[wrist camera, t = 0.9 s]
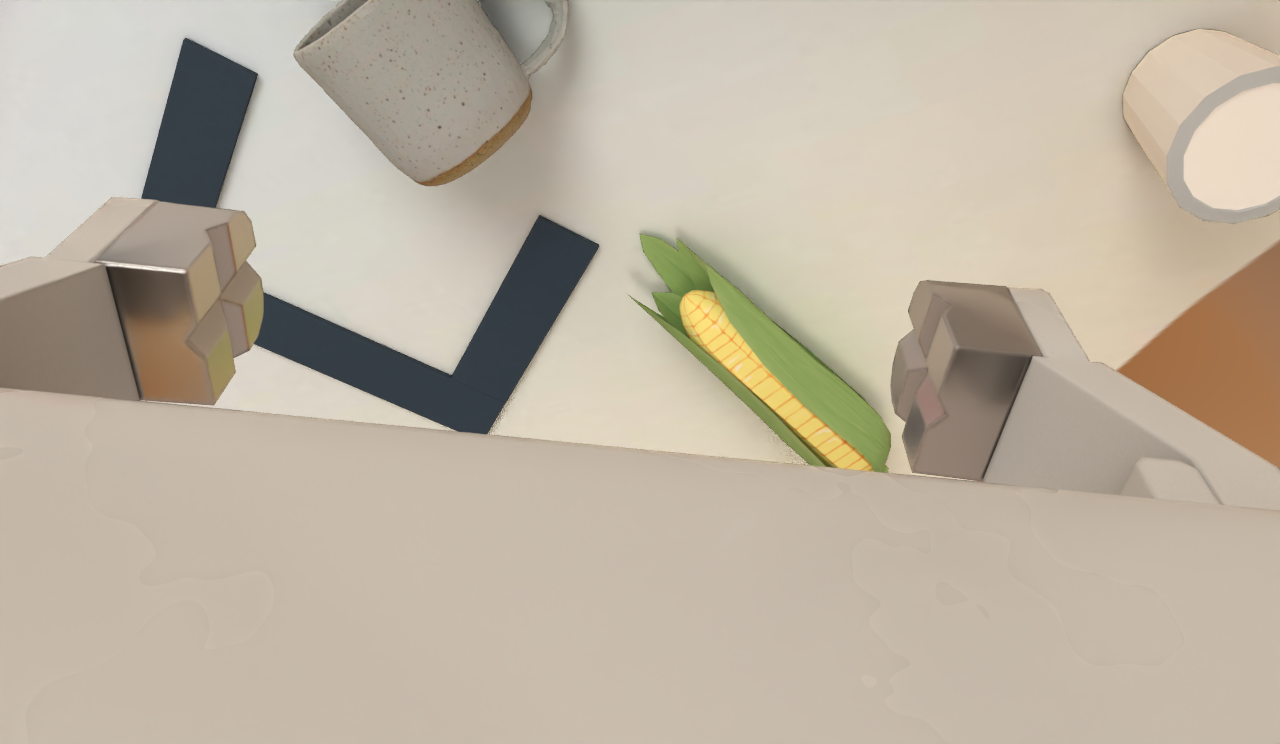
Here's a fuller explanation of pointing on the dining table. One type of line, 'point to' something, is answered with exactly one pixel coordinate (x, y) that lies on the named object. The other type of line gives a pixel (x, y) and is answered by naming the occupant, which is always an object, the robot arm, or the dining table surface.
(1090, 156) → the dining table surface
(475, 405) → the dark grey flat piece
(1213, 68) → the white faceted cylinder
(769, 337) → the edible corn
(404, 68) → the ceramic mug
